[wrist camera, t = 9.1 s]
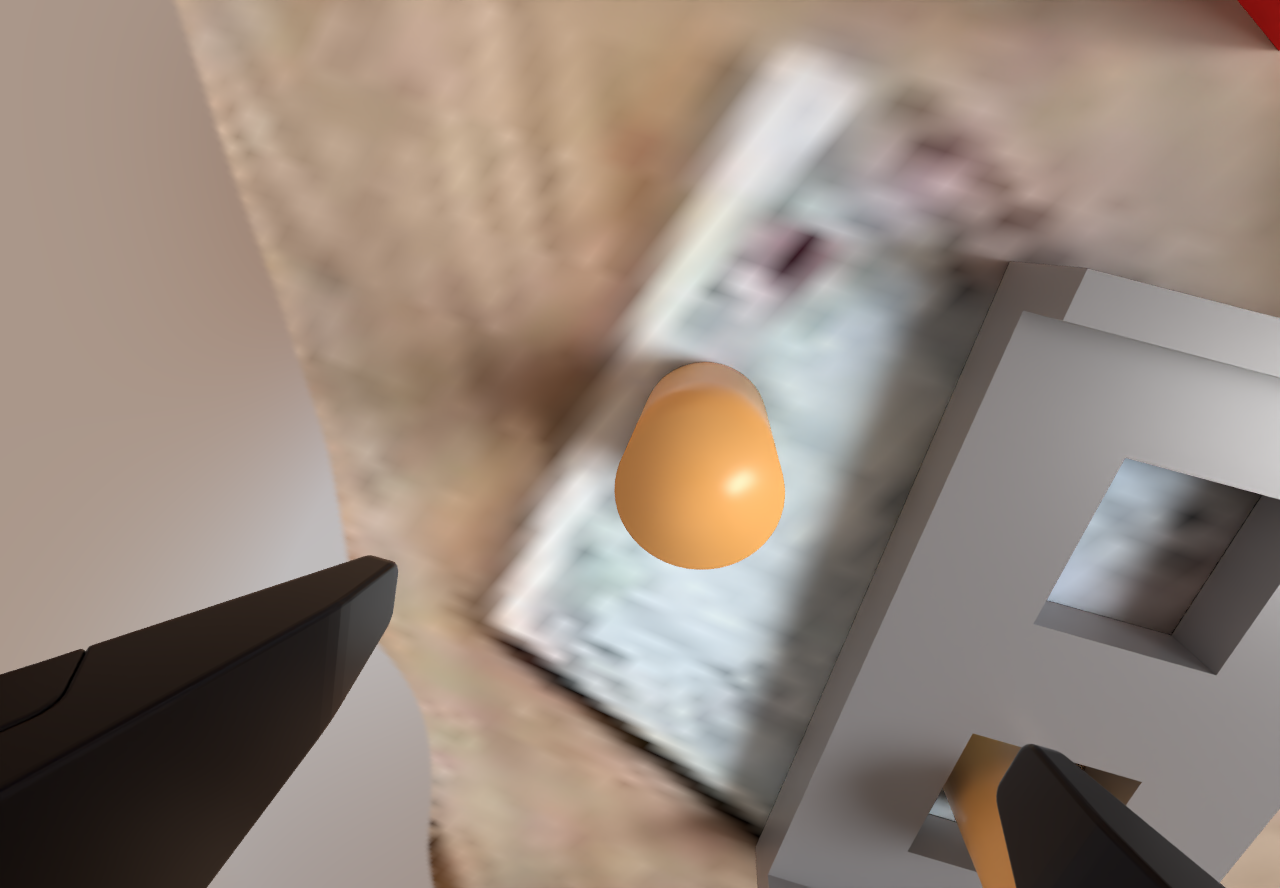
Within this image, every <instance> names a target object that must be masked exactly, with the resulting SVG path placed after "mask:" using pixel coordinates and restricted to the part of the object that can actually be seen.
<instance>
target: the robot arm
mask: <svg viewBox="0 0 1280 888" xmlns="http://www.w3.org/2000/svg"><path fill="white" fill-rule="evenodd" d="M397 577H398V567H397V565H396V564H395V562H393V561H390V560H386V559H383V558H379V557H376V556H371V555H368V556H364V557H361V558H358V559H355V560H352V561H349V562H345V563H342V564H339V565H336V566H333V567H331V568H327V569H324V570H321V571H318V572H315V573H312V574H309V575H306V576H303V577H300V578H297V579H294V580H290V581H288V582H285V583H281V584H278V585H275V586H272V587H269V588H266V589H263V590H260V591H257V592H254V593H251V594H248V595H245V596H242V597H239V598H236V599H232V600H229V601H226V602H223V603H220V604H217V605H214V606H211V607H208V608H205V609H202V610H199V611H196V612H193V613H190V614H187V615H184V616H181V617H177V618H174V619H171V620H168V621H165V622H162V623H159V624H156V625H153V626H150V627H147V628H144V629H141V630H138V631H134V632H131V633H128V634H125V635H122V636H119V637H116V638H113V639H110V640H107V641H104V642H101V643H98V644H95V645H92V646H90V647H89V648H88V649H87V650H86V651H85V650H83V649H79V650H76V651H73V652H70V653H67V654H64V655H61V656H58V657H55V658H52V659H49V660H46V661H42V662H39V663H36V664H33V665H29V666H26V667H24V668H20V669H17V670H13V671H10V672H7V673H4V674H1V675H0V888H207V887H208V885H209V884H210V883H211V881H212V880H213V878H214V877H215V876H216V874H217V873H218V872H219V871H220V869H221V868H222V866H223V865H224V864H225V863H226V861H227V860H228V859H229V857H230V856H231V855H232V853H233V852H234V850H235V849H236V848H237V846H238V845H239V844H240V843H241V841H242V840H243V839H244V837H245V836H246V835H247V833H248V832H249V830H250V829H251V828H252V826H253V825H254V824H255V823H256V821H257V820H258V819H259V817H260V816H261V815H262V813H263V812H264V811H265V809H266V808H267V807H268V805H269V804H270V803H271V801H272V800H273V799H274V797H275V796H276V794H277V793H278V792H279V791H280V789H281V788H282V787H283V785H284V784H285V782H286V781H287V780H288V779H289V777H290V776H291V775H292V773H293V772H294V771H295V769H296V768H297V767H298V765H299V764H300V763H301V761H302V760H303V759H304V757H305V756H306V754H307V753H308V752H309V751H310V749H311V748H312V747H313V745H314V744H315V743H316V741H317V740H318V739H319V737H320V736H321V734H322V733H323V732H324V730H325V729H326V727H327V726H328V724H329V723H330V722H331V720H332V718H333V717H334V715H335V714H336V712H337V711H338V709H339V707H340V706H341V704H342V702H343V701H344V699H345V697H346V695H347V694H348V692H349V691H350V689H351V687H352V685H353V684H354V682H355V681H356V679H357V677H358V676H359V674H360V672H361V670H362V669H363V667H364V665H365V664H366V662H367V661H368V659H369V657H370V655H371V654H372V652H373V650H374V649H375V647H376V645H377V644H378V642H379V640H380V639H381V637H382V635H383V634H384V632H385V630H386V629H387V627H388V625H389V622H390V620H391V617H392V614H393V608H394V601H395V593H396V585H397ZM996 802H997V808H998V812H999V816H1000V821H1001V825H1002V829H1003V834H1004V838H1005V842H1006V847H1007V851H1008V855H1009V860H1010V864H1011V868H1012V873H1013V877H1014V881H1015V886H1016V888H1225V887H1224V886H1223V885H1222V884H1220V883H1219V882H1218V881H1217V880H1216V879H1214V878H1213V877H1212V876H1211V875H1210V874H1208V873H1207V872H1206V871H1205V870H1203V869H1202V868H1201V867H1200V866H1199V865H1197V864H1196V863H1195V862H1194V861H1193V860H1191V859H1190V858H1189V857H1188V856H1186V855H1185V854H1184V853H1183V852H1182V851H1180V850H1179V849H1178V848H1177V847H1176V846H1174V845H1173V844H1172V843H1171V842H1169V841H1168V840H1167V839H1166V838H1165V837H1163V836H1162V835H1161V834H1160V833H1159V832H1157V831H1156V830H1155V829H1154V828H1152V827H1151V826H1150V825H1149V824H1148V823H1146V822H1145V821H1144V820H1143V819H1142V818H1140V817H1139V816H1138V815H1137V814H1135V813H1134V812H1133V811H1132V810H1131V809H1129V808H1128V807H1127V806H1126V805H1125V804H1123V803H1122V802H1121V801H1120V800H1119V799H1117V798H1116V797H1115V796H1114V795H1112V794H1111V793H1110V792H1109V791H1108V790H1106V789H1105V788H1104V787H1103V786H1102V785H1100V784H1099V783H1098V782H1097V781H1095V780H1094V779H1093V778H1092V777H1091V776H1089V775H1088V774H1087V773H1086V772H1085V771H1083V770H1082V769H1081V768H1080V767H1078V766H1077V765H1076V764H1075V763H1074V762H1072V761H1071V760H1070V759H1069V758H1068V757H1066V756H1065V755H1064V754H1062V753H1061V752H1059V751H1057V750H1053V749H1050V748H1046V747H1043V746H1039V745H1036V744H1026V745H1025V746H1023V747H1022V748H1021V749H1020V750H1019V752H1018V753H1017V755H1016V757H1015V758H1014V760H1013V761H1012V763H1011V765H1010V766H1009V768H1008V770H1007V771H1006V773H1005V774H1004V776H1003V778H1002V779H1001V781H1000V783H999V785H998V788H997V794H996Z"/></svg>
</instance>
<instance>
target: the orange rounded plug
mask: <svg viewBox="0 0 1280 888" xmlns="http://www.w3.org/2000/svg"><path fill="white" fill-rule="evenodd" d="M784 499H785V486H784V479H783V474H782V470H781V466H780V463H779V459H778V455H777V451H776V447H775V443H774V440H773V436H772V432H771V428H770V424H769V420H768V417H767V413H766V409H765V406H764V402H763V400H762V397H761V395H760V393H759V392H758V390H757V389H756V387H755V386H754V385H753V384H752V382H751V381H750V380H749V379H748V378H746V377H745V376H744V375H743V374H741V373H740V372H738V371H737V370H735V369H733V368H731V367H728V366H725V365H722V364H718V363H712V362H698V363H692V364H688V365H685V366H682V367H679V368H677V369H675V370H673V371H672V372H670V373H669V374H667V375H666V376H665V377H664V378H662V379H661V380H660V381H659V383H658V384H657V385H656V386H655V388H654V389H653V390H652V392H651V394H650V396H649V398H648V400H647V402H646V405H645V407H644V409H643V411H642V414H641V416H640V418H639V420H638V423H637V425H636V427H635V429H634V432H633V434H632V436H631V438H630V441H629V443H628V445H627V447H626V450H625V452H624V454H623V456H622V459H621V461H620V463H619V466H618V469H617V473H616V479H615V500H616V505H617V509H618V513H619V515H620V518H621V520H622V522H623V524H624V526H625V528H626V530H627V531H628V532H629V534H630V535H631V536H632V538H633V539H634V540H635V541H636V542H637V543H638V544H639V545H640V546H641V547H642V548H643V549H645V550H646V551H647V552H648V553H650V554H651V555H653V556H655V557H656V558H658V559H660V560H662V561H664V562H666V563H669V564H672V565H675V566H678V567H683V568H688V569H714V568H720V567H724V566H728V565H731V564H734V563H736V562H739V561H741V560H743V559H745V558H746V557H748V556H750V555H751V554H752V553H754V552H755V551H757V550H758V549H759V548H760V547H761V546H762V545H763V544H764V543H765V542H766V541H767V540H768V538H769V537H770V536H771V535H772V533H773V531H774V530H775V528H776V527H777V524H778V522H779V520H780V518H781V514H782V511H783V507H784Z"/></svg>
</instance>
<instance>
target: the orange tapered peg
mask: <svg viewBox="0 0 1280 888" xmlns="http://www.w3.org/2000/svg"><path fill="white" fill-rule="evenodd" d="M1021 748H1022V747H1019V746H1015V745H1012V744H1008V743H1005V742H1001V741H998V740H994V739H991V738H987V737H984V736H980V735H977V734H972V736H971V738H970V739H969V741H968V743H967V745H966V747H965V748H964V750H963V752H962V754H961V756H960V758H959V759H958V761H957V763H956V765H955V767H954V768H953V770H952V772H951V774H950V776H949V777H948V779H947V781H946V783H945V785H944V786H943V790H944V792H945V795H946V797H947V800H948V802H949V805H950V807H951V810H952V812H953V815H954V817H955V820H956V822H957V825H958V827H959V829H960V832H961V834H962V837H963V839H964V842H965V844H966V847H967V849H968V852H969V854H970V857H971V859H972V862H973V864H974V867H975V869H976V872H977V874H978V877H979V879H980V882H981V884H982V887H983V888H1016V886H1015V881H1014V877H1013V873H1012V868H1011V864H1010V860H1009V855H1008V851H1007V847H1006V842H1005V838H1004V834H1003V829H1002V825H1001V821H1000V816H999V812H998V808H997V802H996V794H997V788H998V785H999V783H1000V781H1001V779H1002V778H1003V776H1004V774H1005V773H1006V771H1007V770H1008V768H1009V766H1010V765H1011V763H1012V761H1013V760H1014V758H1015V757H1016V755H1017V753H1018V752H1019V750H1020V749H1021Z"/></svg>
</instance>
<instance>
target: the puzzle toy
mask: <svg viewBox="0 0 1280 888" xmlns="http://www.w3.org/2000/svg"><path fill="white" fill-rule="evenodd" d="M1238 2H1239V3H1240V4H1241V5H1242V7H1243V8H1244V9H1245V10H1246V11H1247V13H1248V14H1249V15H1250V16H1251V18H1252V19H1253V20H1254V21H1255V23H1256V24H1257V25H1258V26H1259V27H1260V29H1261V30H1262V31H1263V32H1264V34H1265V35H1266V36H1267V37H1268V38H1269V40H1270V41H1271V42H1272V43H1273V45H1274V46H1275V47H1276V48H1277V49H1278V51H1279V50H1280V0H1238Z"/></svg>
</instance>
